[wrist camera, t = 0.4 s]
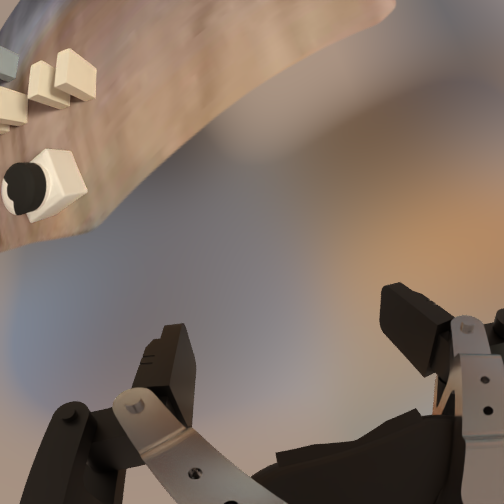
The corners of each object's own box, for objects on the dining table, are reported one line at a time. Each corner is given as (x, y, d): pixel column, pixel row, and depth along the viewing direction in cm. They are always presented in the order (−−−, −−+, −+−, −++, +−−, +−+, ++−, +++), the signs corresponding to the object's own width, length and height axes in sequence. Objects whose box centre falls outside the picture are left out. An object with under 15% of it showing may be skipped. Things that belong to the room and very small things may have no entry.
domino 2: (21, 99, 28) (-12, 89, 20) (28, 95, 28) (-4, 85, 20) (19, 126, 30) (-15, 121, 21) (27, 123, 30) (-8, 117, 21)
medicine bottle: (71, 149, 32) (23, 145, 21) (89, 191, 34) (43, 200, 23) (39, 175, 32) (-11, 180, 21) (56, 215, 34) (7, 232, 23)
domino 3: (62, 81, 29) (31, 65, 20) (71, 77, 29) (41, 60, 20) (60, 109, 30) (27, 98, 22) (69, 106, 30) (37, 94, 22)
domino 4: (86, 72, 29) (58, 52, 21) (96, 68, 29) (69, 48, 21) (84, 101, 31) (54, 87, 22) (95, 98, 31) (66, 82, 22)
